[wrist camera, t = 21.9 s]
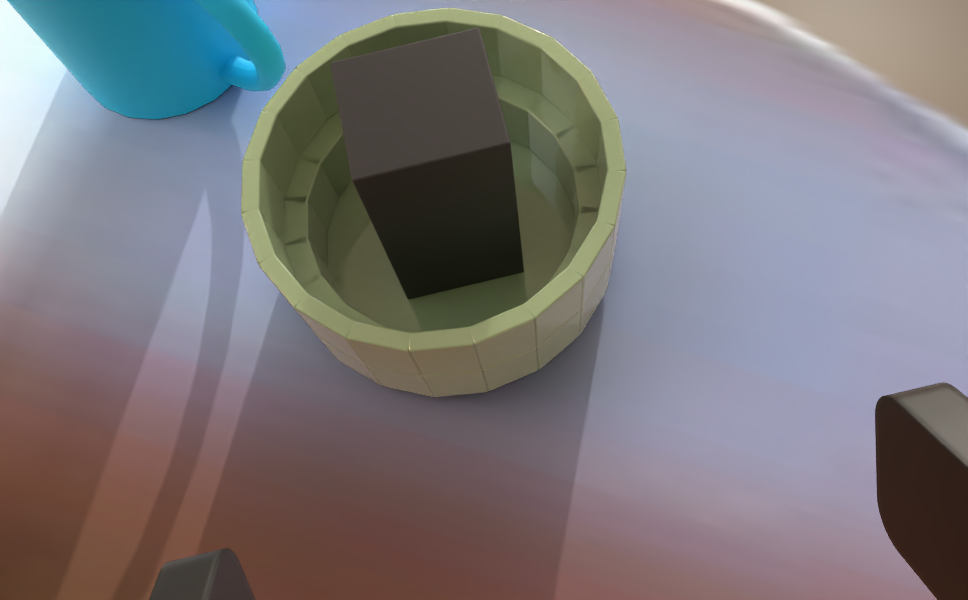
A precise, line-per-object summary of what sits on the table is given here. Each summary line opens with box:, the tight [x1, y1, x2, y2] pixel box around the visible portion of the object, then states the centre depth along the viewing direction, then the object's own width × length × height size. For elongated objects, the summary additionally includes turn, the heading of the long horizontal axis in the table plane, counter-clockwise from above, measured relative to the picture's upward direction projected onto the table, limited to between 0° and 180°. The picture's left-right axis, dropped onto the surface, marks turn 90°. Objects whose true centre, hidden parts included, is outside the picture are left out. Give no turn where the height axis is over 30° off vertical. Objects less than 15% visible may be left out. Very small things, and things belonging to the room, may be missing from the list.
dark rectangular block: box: [330, 28, 524, 299], centre depth 28 cm, size 4×4×9 cm
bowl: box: [241, 8, 626, 397], centre depth 30 cm, size 12×12×6 cm
